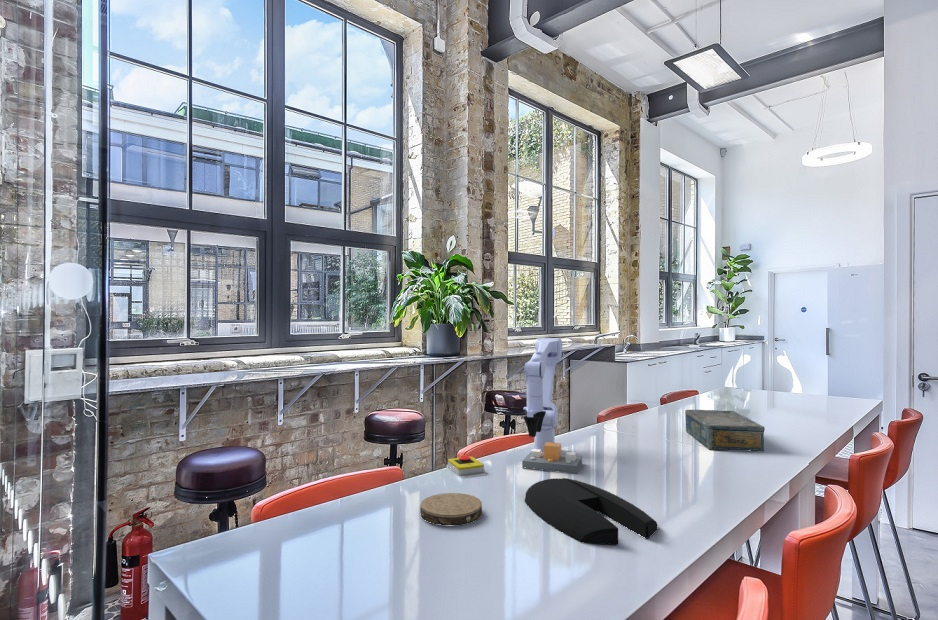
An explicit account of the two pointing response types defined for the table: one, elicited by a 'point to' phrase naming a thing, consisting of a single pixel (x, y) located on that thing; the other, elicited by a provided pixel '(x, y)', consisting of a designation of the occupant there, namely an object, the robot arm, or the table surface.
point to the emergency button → (466, 466)
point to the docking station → (586, 511)
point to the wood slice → (451, 509)
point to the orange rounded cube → (552, 451)
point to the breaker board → (553, 462)
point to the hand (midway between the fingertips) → (535, 434)
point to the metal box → (724, 430)
